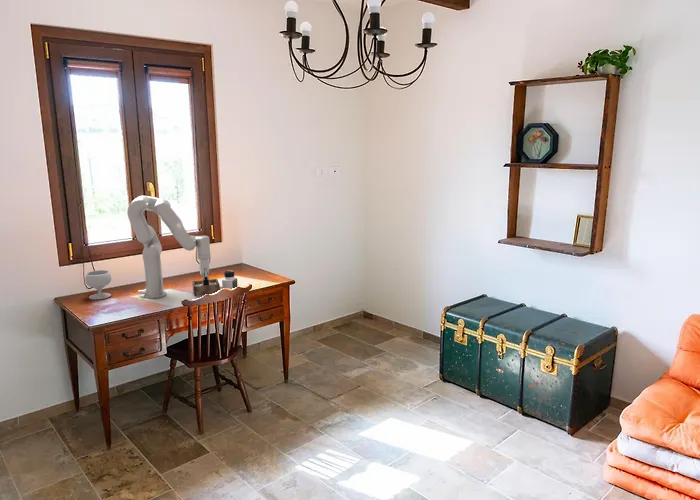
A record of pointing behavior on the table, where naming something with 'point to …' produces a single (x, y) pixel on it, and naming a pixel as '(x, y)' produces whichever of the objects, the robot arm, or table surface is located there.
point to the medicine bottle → (229, 280)
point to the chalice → (98, 282)
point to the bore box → (205, 287)
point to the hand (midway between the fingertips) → (205, 284)
